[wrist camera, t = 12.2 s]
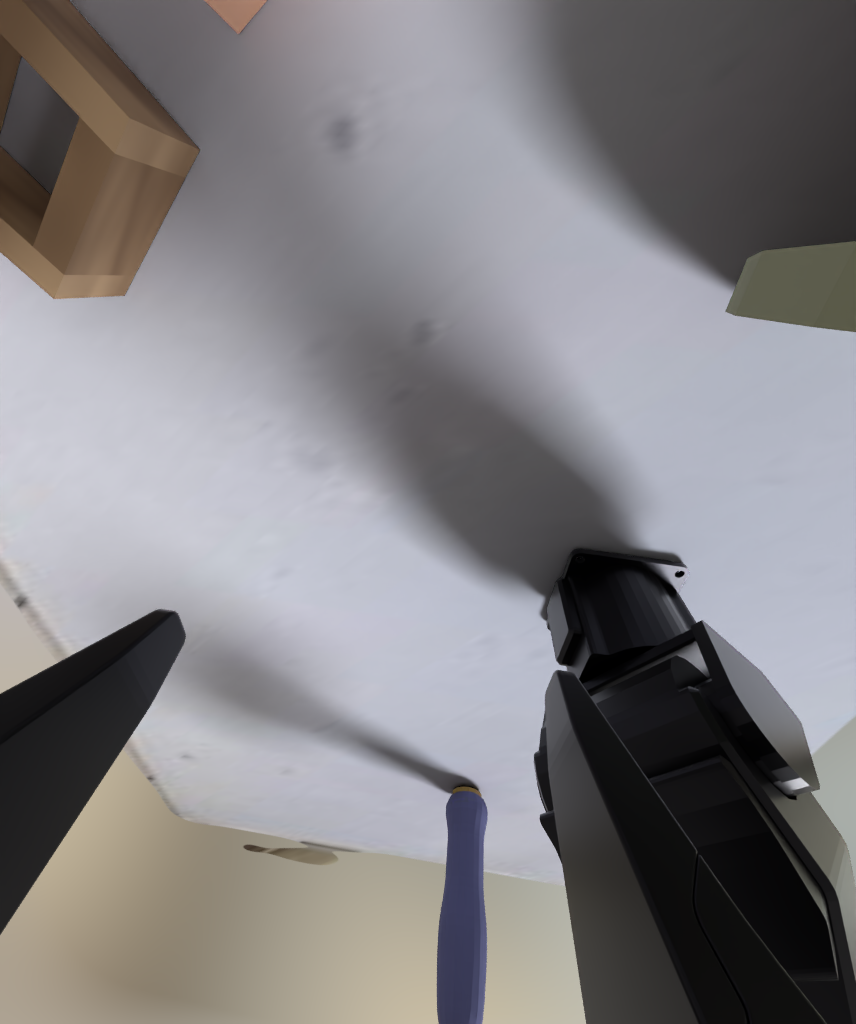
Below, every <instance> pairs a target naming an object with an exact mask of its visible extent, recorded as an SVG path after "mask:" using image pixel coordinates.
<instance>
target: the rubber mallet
mask: <svg viewBox="0 0 856 1024" xmlns="http://www.w3.org/2000/svg"><path fill="white" fill-rule="evenodd" d="M487 815H488V812H487V807H486V804H485V802H484V800H483V799H482V798H481V793H480V792H479V791H478V790H476V789H474V788H470V787H457V788H455V789H454V790H453V794H452V795H451V797H450V799H449V801H448V803H447V805H446V818H447V826H448V846H447V863H446V880H445V888H444V895H443V902H442V907H441V914H440V921H439V933H438V951H437V952H438V953H437V1012H438V1021H439V1024H482V1020H483V1011H484V1000H485V983H486V962H487V930H486V929H487V928H486V916H485V905H484V891H483V853H484V834H485V829H486V824H487Z"/></svg>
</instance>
